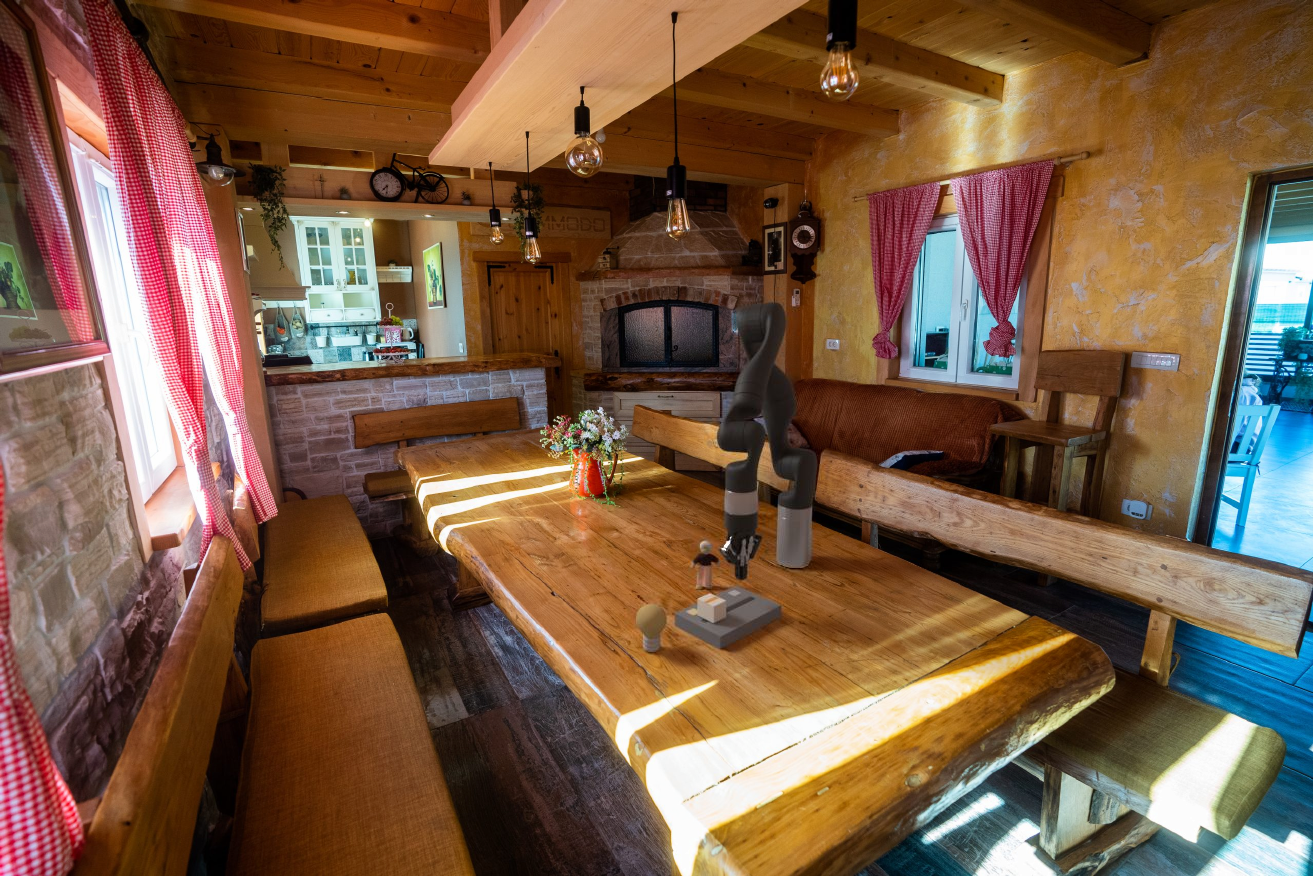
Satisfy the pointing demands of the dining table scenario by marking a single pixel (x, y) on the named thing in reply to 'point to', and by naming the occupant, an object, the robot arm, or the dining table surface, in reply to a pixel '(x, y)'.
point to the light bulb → (651, 625)
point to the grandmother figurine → (705, 566)
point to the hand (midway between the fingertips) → (741, 578)
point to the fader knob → (711, 608)
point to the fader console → (730, 617)
